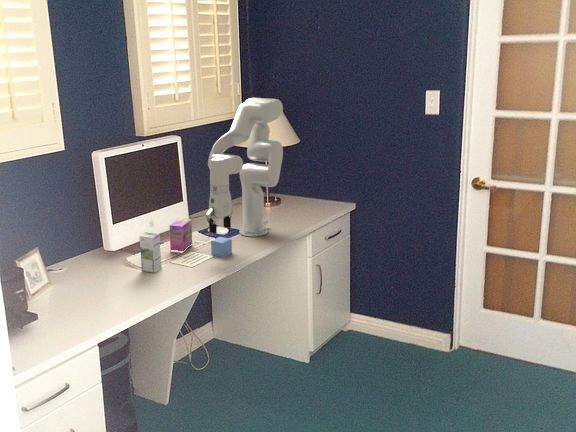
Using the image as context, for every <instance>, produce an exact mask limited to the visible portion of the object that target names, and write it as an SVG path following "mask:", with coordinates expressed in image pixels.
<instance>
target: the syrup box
mask: <svg viewBox="0 0 576 432" xmlns="http://www.w3.org/2000/svg"><path fill="white" fill-rule="evenodd" d="M160 235H161V234H160V232H159V233H158V232H152V231H145V232H143V233H142V234H140V235H139V246H140V248H139V249H140V263H141V271H142V272H143V273H151V274H155V273H157V272H159V271H160V270H162V255H161V254H162V253H161V236H160Z"/></svg>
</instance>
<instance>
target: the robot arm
mask: <svg viewBox="0 0 576 432" xmlns="http://www.w3.org/2000/svg"><path fill="white" fill-rule="evenodd" d="M283 110H284V106H283V103H282V101H281V100H280V99H278V98H277V99H276V98H265V97H263V98H261V97H251V98H248V99H246V100H245V101H244V102H243V103H240V104H239V106H238V108H237V110H236V113H235V115H234V119H233V121H232V124H231V126H230V129H229V131H228V132H226V133H225V134H223V135H222V136H220V138H218V139H217V140H216V142H215V143H214V144H213V146H212V148H211V151H210V152H209V155H208V160H207V166H208V169H209V190H210V191H209V192H210V193H209V198H208V199H209V200H208V211H207V212H206V214H205V217H206V221H207V223H208V224H209V225H208V230H209V233H210V234H215V235H216V234H217V226H218V225H217V223H216V222H217V220H218V219H219V220H220V219H223V227H224V228H227V229H231V228H232V227H231V225H232V223H231V221H232V220H231V219H232V214H233V210H234V205H233V203H232V195H231V191H230V175H236V174H239V180H240V184H241V196H242V199H241V201H242V203H241V204H242V207H241V208H242V227H241V228H240V229H239V234H240V235H242V236H244V237H261V236H265V235H267V234H268V229H267V228H266V227H265V226H266V225H267V224H269V220H268V219H265V211H264V209H265V201H264V200H265V199H264V198H265V197H264V196H265V195H264V191H263V188H262V187H267V188H268V187H269V188H273V187H275V186H277V184H278V183H279V180H280V174H281V169H282V165H283V164H282V162H283V158H284V157H283V155H284V148H283V145H282V144H281V142H279V141H277V140H273V139H272V140H270V139H269V138H270V126H269V123H271V122H274V121H277V120H279V118H281V116H282V114H283V112H284V111H283ZM245 142H248V143H247V147H246V148H247V150H246V156H247V158H248V159H249V160H251V161H254V162H262V163H253V162H247V163H244V161H243V158H241V156H239V155H235V154H229V153H228V154H227V153H225V152H226V151H227V150H228V149H229V148H232V147H234V146H238V145H240V144H242V143H245ZM263 162H265V163H268V164H263Z"/></svg>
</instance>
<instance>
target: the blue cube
mask: <svg viewBox="0 0 576 432" xmlns="http://www.w3.org/2000/svg"><path fill="white" fill-rule="evenodd" d="M232 243H233V240H232V238H228V237H222V236H218V237H216V238H214V239H212V240H210V245H211V246H210V251H211V255H210V256H217V257H221V258H224V257H226V256H227V257H228V255H230V254H232V253H233V244H232Z"/></svg>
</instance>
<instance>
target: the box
mask: <svg viewBox="0 0 576 432" xmlns="http://www.w3.org/2000/svg"><path fill="white" fill-rule="evenodd" d="M192 224H193V221H192V219H191V218H181V217H180V218H178V219H176V220H175V221H174V222H172V223H171V224H170V225H169V245H170V247H169V248H170V249H169V250H170V251H171V250H178V251H184V250H185V249H186V248H187V247H188V246H190V245H191V244H192V245H193V230H192V229H193V226H192Z"/></svg>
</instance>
